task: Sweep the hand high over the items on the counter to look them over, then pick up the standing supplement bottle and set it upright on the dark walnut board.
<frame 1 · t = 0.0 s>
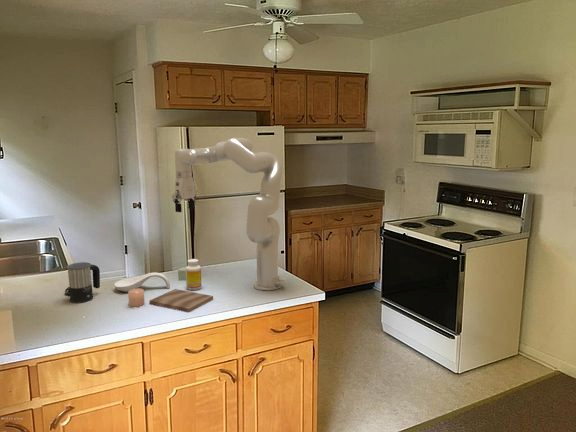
hand: (185, 210, 233), 31 cm above the countertop, tool pointing down, fingers open, 9 cm apart
supplement bottle: (194, 288, 217), on the countertop
sage block: (185, 279, 230), on the countertop
milk frother: (78, 297, 206), on the countertop
peach rounded capsule: (136, 304, 197), on the countertop
walnut board: (181, 301, 200), on the countertop
spoon rest: (142, 289, 216), on the countertop
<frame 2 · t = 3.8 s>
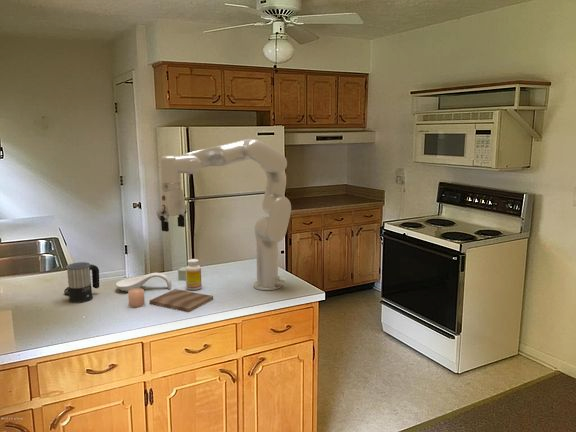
hand: (173, 228, 197), 30 cm above the countertop, tool pointing down, fingers open, 9 cm apart
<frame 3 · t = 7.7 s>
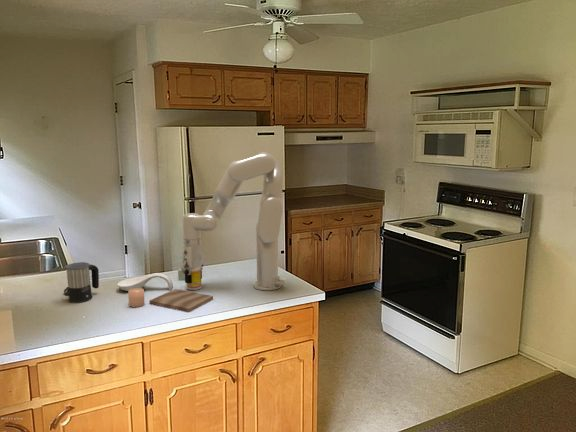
hand: (193, 280, 216), 4 cm above the countertop, tool pointing down, fingers closed on supplement bottle, 6 cm apart
supplement bottle: (194, 288, 217), on the countertop, touching gripper
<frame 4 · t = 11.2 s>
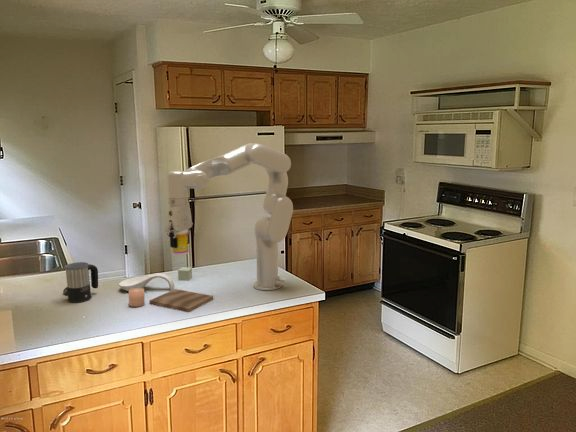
hand: (180, 245, 196), 24 cm above the countertop, tool pointing down, fingers closed on supplement bottle, 6 cm apart
supplement bottle: (180, 254, 197), point 20 cm above the countertop, touching gripper
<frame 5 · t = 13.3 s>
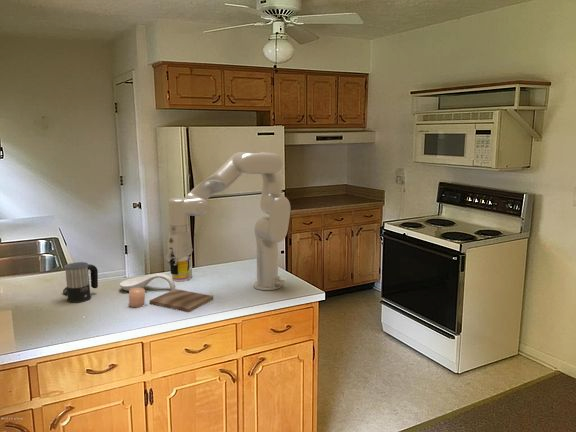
hand: (180, 271, 198), 13 cm above the countertop, tool pointing down, fingers closed on supplement bottle, 6 cm apart
supplement bottle: (180, 280, 198), point 9 cm above the countertop, touching gripper
when the fingers open (7 cm above the countertop, at t = 15.0 s): supplement bottle drops 2 cm, resting on walnut board.
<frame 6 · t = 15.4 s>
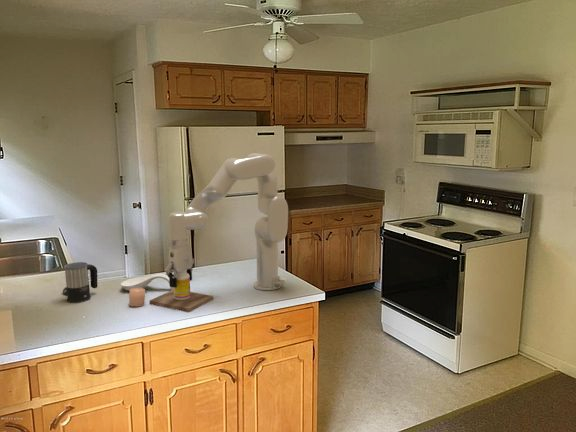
hand: (181, 283, 199), 8 cm above the countertop, tool pointing down, fingers open, 9 cm apart
supplement bottle: (182, 298, 200), point 1 cm above the countertop, touching walnut board
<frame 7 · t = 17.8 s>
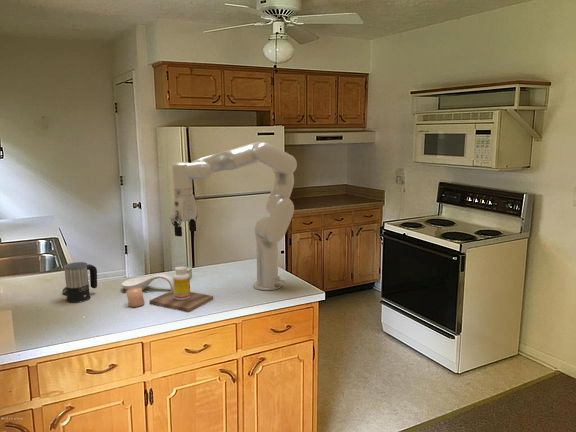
hand: (185, 233, 201), 27 cm above the countertop, tool pointing down, fingers open, 9 cm apart
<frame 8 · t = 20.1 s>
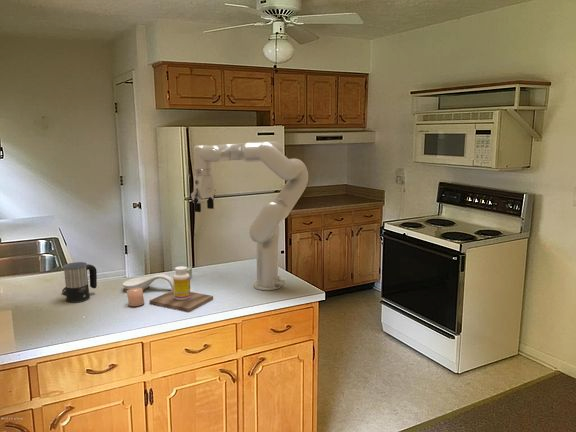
hand: (204, 210, 222), 33 cm above the countertop, tool pointing down, fingers open, 9 cm apart
at the end: supplement bottle inside the target area on the walnut board (0.3 cm from its centre), point 1.3 cm above the walnut board's base; supplement bottle tilted 0°; the gripper is holding nothing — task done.
